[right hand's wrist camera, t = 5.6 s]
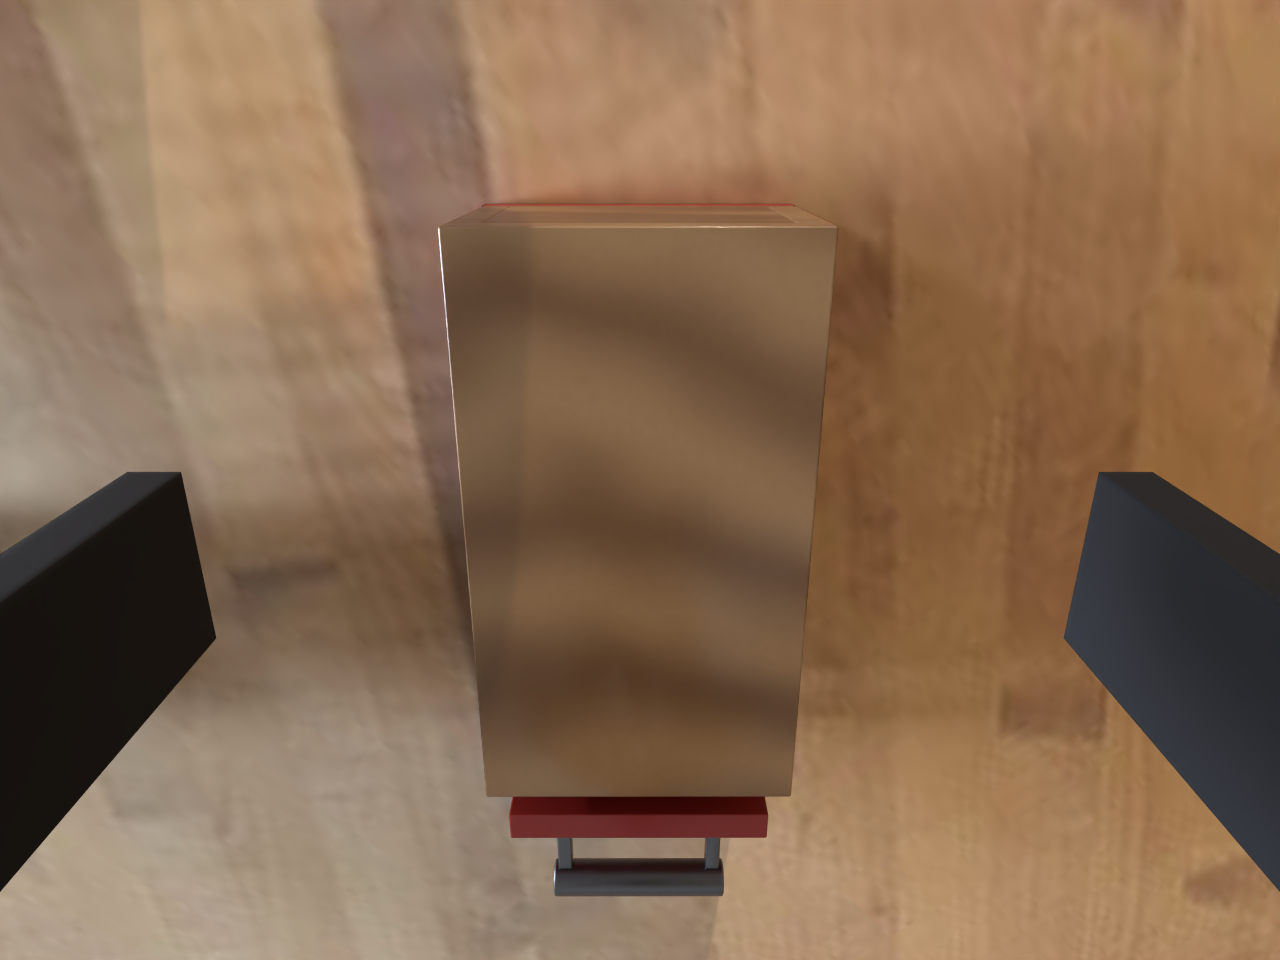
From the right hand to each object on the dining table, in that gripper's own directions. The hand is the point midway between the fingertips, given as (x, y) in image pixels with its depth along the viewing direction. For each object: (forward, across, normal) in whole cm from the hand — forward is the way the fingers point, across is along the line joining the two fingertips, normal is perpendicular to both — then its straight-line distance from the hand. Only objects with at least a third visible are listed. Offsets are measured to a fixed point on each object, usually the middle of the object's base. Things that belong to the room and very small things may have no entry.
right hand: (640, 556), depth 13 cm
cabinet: (+22, 0, -7) cm, 23 cm away
